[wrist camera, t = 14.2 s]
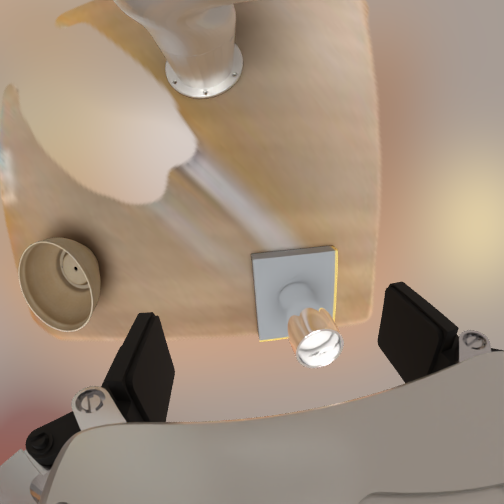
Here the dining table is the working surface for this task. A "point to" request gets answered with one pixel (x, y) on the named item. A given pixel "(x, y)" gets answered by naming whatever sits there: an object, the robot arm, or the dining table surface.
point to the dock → (284, 273)
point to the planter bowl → (60, 282)
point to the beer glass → (309, 327)
